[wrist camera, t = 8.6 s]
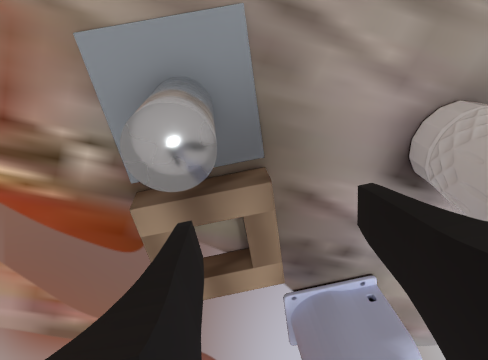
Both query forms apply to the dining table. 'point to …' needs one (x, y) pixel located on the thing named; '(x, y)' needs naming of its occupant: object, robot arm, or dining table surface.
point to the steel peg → (171, 137)
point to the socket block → (214, 210)
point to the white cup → (455, 155)
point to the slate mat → (179, 72)
